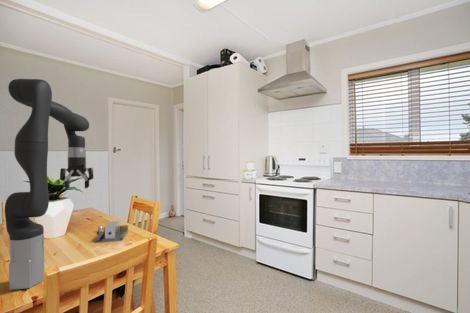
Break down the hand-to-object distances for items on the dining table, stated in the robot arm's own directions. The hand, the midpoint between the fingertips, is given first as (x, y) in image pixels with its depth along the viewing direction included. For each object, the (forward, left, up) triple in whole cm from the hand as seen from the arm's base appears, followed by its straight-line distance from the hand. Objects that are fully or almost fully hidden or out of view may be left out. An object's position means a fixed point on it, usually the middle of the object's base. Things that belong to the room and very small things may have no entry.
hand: (77, 188), depth 115 cm
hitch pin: (+17, -5, -29) cm, 34 cm away
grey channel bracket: (+9, -14, -29) cm, 34 cm away
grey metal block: (+9, -14, -29) cm, 33 cm away
